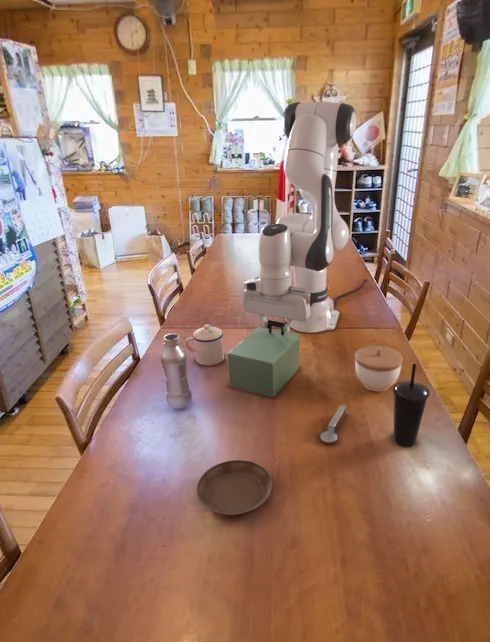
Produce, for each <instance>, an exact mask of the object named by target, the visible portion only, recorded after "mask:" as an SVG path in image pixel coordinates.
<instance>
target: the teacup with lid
mask: <svg viewBox="0 0 490 642" xmlns="http://www.w3.org/2000/svg"><path fill="white" fill-rule="evenodd" d="M223 336H224V332H223V330H221V328H218V327H216V326H211V324H208V323H207V324H204V325H203V326H202V327H200V328H198V329H195V331H194V332H193V334H192V336H190V337H187V338H186V339H185V341H184V345H185V346H184V347H185V348H186V349H187V351H189V352H191V353H194V354H195V361H196V363H198V364H199V365H202V366H206V367H209V366H215V365H218V364H220V363H222V362H224V359H225V353H224V340H223V338H224V337H223ZM189 341H193V343H194V344H193V345H194V349H193V348H192V347H191V346H190V345H189Z"/></svg>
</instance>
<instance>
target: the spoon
mask: <svg viewBox="0 0 490 642" xmlns="http://www.w3.org/2000/svg"><path fill="white" fill-rule="evenodd" d="M346 416H347V406H346V405H341V404H339V406H338V408H337V409H336V411H335V413H334V414H333V416H332V418H331V419H330V421H329V423H328V425H327V431H322V432H321V433H320V435H319V441H320V442H321V443H322V444H323V445H327V446H332V445H334V444H336V443H337V442H338V434H337V431H338V430H339V429H340V426H341V425H342V423H343V421H344V420H345V418H346Z"/></svg>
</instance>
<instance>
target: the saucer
mask: <svg viewBox="0 0 490 642" xmlns="http://www.w3.org/2000/svg"><path fill="white" fill-rule="evenodd" d="M272 490H273V479H272V476H271V475H270V473H269V471H268V470H267V469H266V468H265V467H264V466H262V465H261V464H259V463H256V462H254V461H252V460H251V461H250V460H246V459H244V460H243V459H231V460H226V461H223V462H220V463H217V464H215V465H213V466H211V467H210V468H208V469H207V470H206V471H205V472H203V474H202V475H201V476H200V478H199V479H198V482H197V485H196V495H197V497H198V500H199V502H200V503H201V504H202V505H203V506H204V507H205V508H206V509H208V510H209V511H211V512H213V513H215V514H218V515H221V516H226V517H236V516H242V515H246V514H249V513H251V512H253V511H255V510H256V509H258V508H259V507H261V506H262V505H263V504H264V503H265V502H266V501H267V500H268V498H269V496H270V495H271V494H272Z"/></svg>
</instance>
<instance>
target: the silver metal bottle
mask: <svg viewBox="0 0 490 642" xmlns="http://www.w3.org/2000/svg"><path fill="white" fill-rule="evenodd" d="M180 343H181V341H180V336H179V334H177V333H169V334H165V335H164V336H163V346H164V347H163V349H162V351H161V353H160V358H159V359H160V363H161V365H162V369H163V372H164V376H165V381H166V382H165V383H166V392H165V395H166V396H165V397H166V398H165V400H166V403H167V405H168V406H169V407H170V408H171V409H173V410H184V409H185V408H187V407H188V406H190V404H191V403H192V400H193V395H192V390H191V388H190V383H189V379H188V372H187V371H188V370H187V366H188V365H187V362H188V361H187V360H188V356H187V354H188V353H187V351H186V350H185V348H184V347H183V346H181V345H180Z"/></svg>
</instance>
